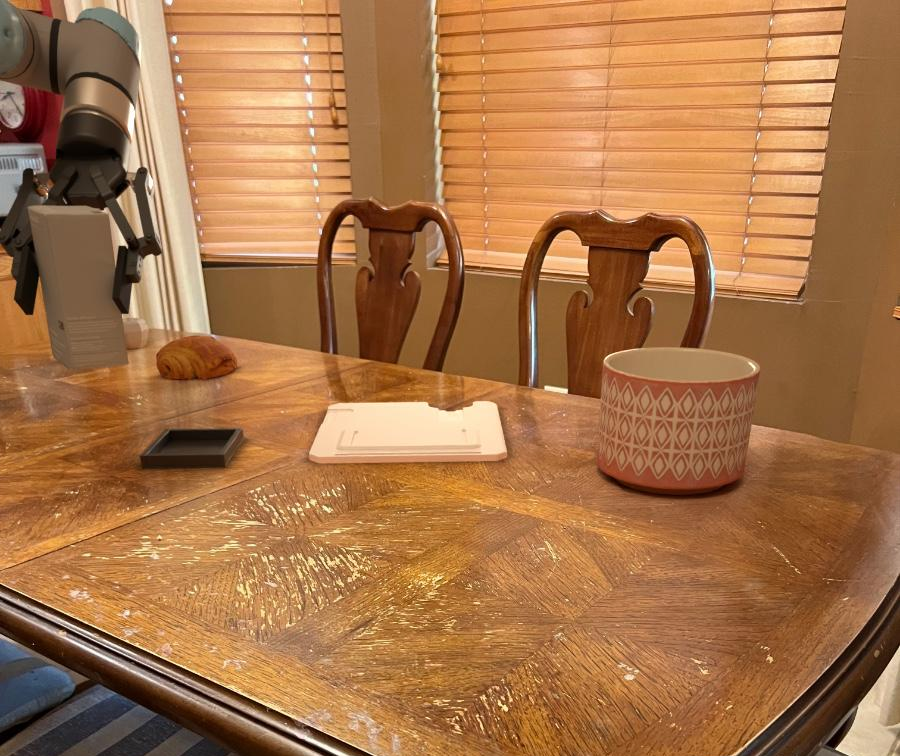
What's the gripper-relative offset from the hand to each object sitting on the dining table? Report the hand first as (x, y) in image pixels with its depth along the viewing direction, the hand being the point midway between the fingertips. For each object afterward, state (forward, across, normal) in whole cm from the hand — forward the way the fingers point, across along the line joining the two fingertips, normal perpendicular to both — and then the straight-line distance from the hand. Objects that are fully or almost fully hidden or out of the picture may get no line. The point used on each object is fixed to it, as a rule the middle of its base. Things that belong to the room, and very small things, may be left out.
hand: (72, 306), depth 90 cm
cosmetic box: (+2, 0, -7) cm, 7 cm away
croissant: (-36, +10, -72) cm, 81 cm away
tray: (-7, -34, -42) cm, 54 cm away
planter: (+7, -69, -28) cm, 75 cm away
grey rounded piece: (-54, +31, -90) cm, 109 cm away
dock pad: (-1, -3, -36) cm, 36 cm away
